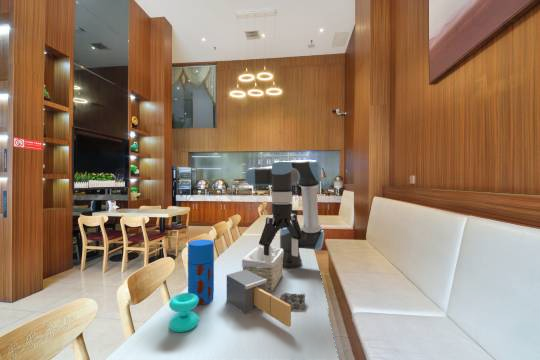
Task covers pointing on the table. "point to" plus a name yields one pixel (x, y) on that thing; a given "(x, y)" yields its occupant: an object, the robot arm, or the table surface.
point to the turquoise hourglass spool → (184, 312)
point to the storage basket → (265, 266)
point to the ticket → (272, 306)
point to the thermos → (201, 270)
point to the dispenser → (243, 289)
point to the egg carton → (297, 298)
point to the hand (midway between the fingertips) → (282, 259)
